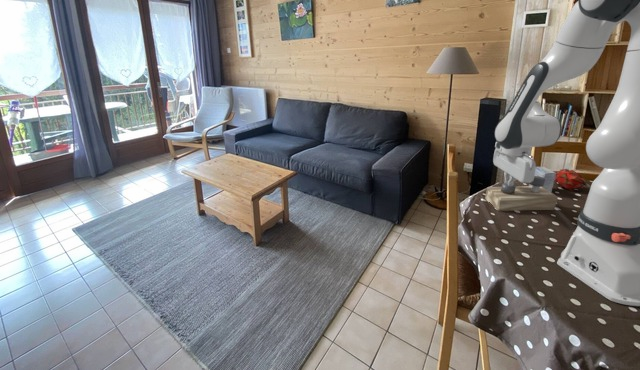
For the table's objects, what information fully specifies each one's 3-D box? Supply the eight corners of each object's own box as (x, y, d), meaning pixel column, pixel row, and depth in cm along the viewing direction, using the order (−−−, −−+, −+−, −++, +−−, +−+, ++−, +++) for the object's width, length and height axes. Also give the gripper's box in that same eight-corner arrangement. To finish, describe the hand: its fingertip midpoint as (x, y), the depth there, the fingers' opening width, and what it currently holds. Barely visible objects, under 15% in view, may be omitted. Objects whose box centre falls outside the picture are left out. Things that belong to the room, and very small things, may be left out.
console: (554, 209, 114) (558, 196, 112) (498, 210, 115) (500, 197, 113) (537, 197, 124) (540, 185, 122) (485, 198, 124) (487, 187, 122)
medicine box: (551, 193, 127) (556, 173, 124) (539, 193, 127) (545, 173, 124) (539, 185, 134) (544, 166, 131) (528, 185, 135) (533, 166, 131)
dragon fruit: (550, 185, 138) (579, 199, 129) (544, 178, 133) (574, 192, 124) (564, 169, 137) (594, 182, 127) (559, 161, 132) (590, 174, 122)
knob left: (514, 205, 117) (518, 187, 114) (502, 205, 117) (506, 187, 114) (507, 200, 121) (511, 182, 118) (496, 200, 121) (499, 183, 118)
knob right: (543, 198, 116) (548, 180, 113) (531, 199, 116) (535, 180, 113) (535, 193, 120) (540, 175, 117) (524, 194, 120) (528, 176, 117)
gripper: (545, 157, 101) (534, 196, 107) (510, 140, 120) (502, 175, 126) (525, 157, 101) (515, 197, 107) (493, 141, 120) (486, 175, 126)
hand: (508, 185), depth 116 cm, fingers closed, pressing on knob left
